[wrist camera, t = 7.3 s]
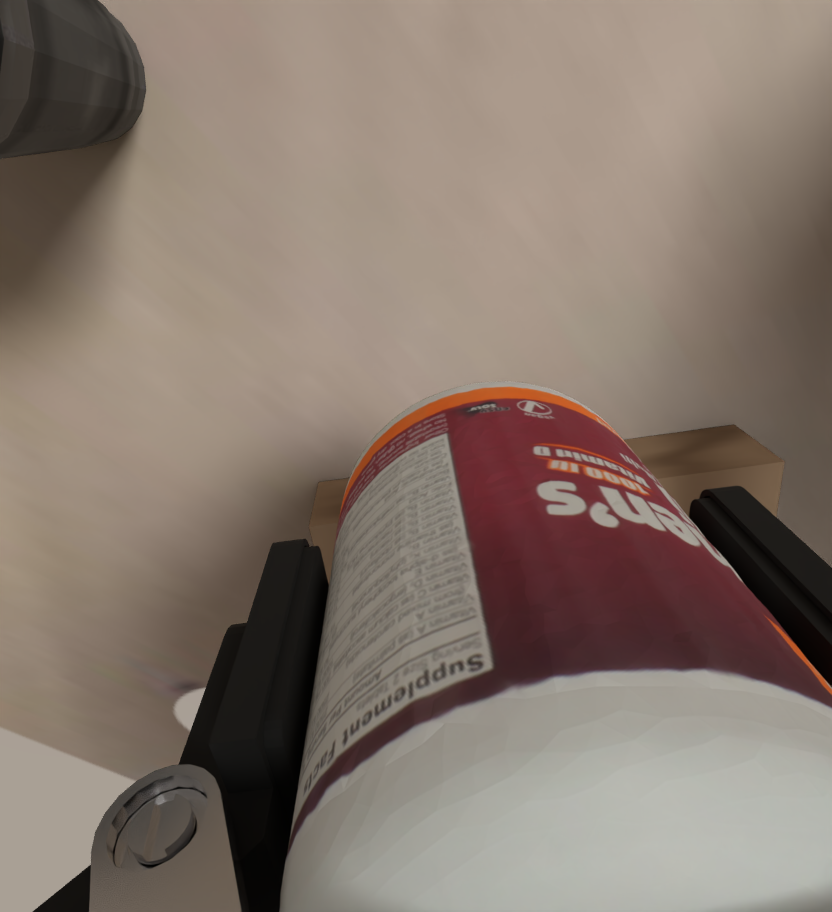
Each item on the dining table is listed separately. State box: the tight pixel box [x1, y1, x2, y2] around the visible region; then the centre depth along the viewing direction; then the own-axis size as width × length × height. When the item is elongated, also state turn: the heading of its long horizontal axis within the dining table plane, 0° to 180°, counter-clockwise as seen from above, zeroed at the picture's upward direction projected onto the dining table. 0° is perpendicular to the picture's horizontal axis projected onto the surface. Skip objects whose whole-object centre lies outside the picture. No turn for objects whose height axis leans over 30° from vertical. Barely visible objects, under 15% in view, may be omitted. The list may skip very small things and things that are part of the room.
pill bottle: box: [279, 381, 832, 912], centre depth 8 cm, size 6×6×11 cm
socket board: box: [309, 425, 785, 584], centre depth 30 cm, size 20×14×4 cm
